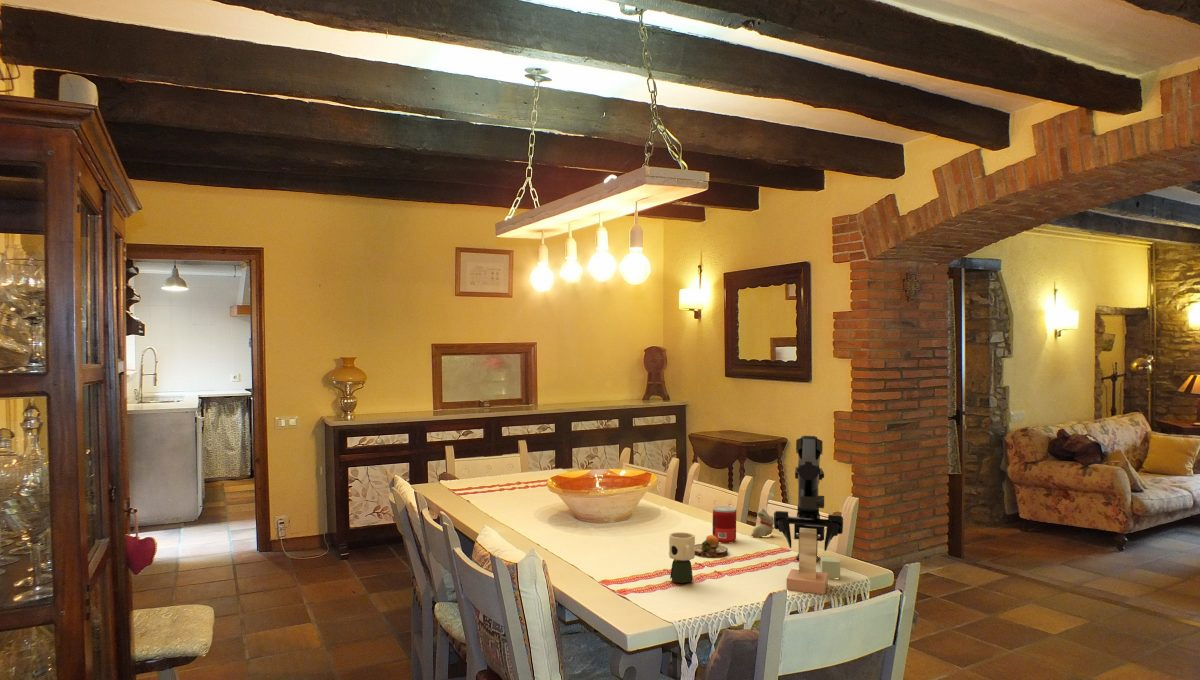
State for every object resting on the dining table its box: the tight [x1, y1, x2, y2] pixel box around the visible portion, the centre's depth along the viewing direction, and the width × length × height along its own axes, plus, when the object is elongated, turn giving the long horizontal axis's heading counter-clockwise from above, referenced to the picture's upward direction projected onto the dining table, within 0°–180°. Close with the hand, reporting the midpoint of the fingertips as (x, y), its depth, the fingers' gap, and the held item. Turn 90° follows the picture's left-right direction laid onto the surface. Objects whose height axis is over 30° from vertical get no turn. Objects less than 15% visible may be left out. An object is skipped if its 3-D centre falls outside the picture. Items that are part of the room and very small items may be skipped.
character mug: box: [668, 531, 696, 584], centre depth 212 cm, size 11×7×13 cm, turn 14°
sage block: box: [819, 556, 841, 579], centre depth 219 cm, size 5×5×5 cm
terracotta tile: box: [785, 568, 829, 595], centre depth 209 cm, size 10×10×3 cm
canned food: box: [712, 505, 737, 544], centre depth 260 cm, size 8×8×11 cm
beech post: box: [798, 528, 817, 579], centre depth 209 cm, size 4×4×12 cm
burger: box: [695, 534, 729, 558], centre depth 243 cm, size 12×12×8 cm
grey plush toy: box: [750, 508, 775, 538], centre depth 267 cm, size 6×8×10 cm
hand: (807, 548), depth 208 cm, fingers open, 9 cm apart
